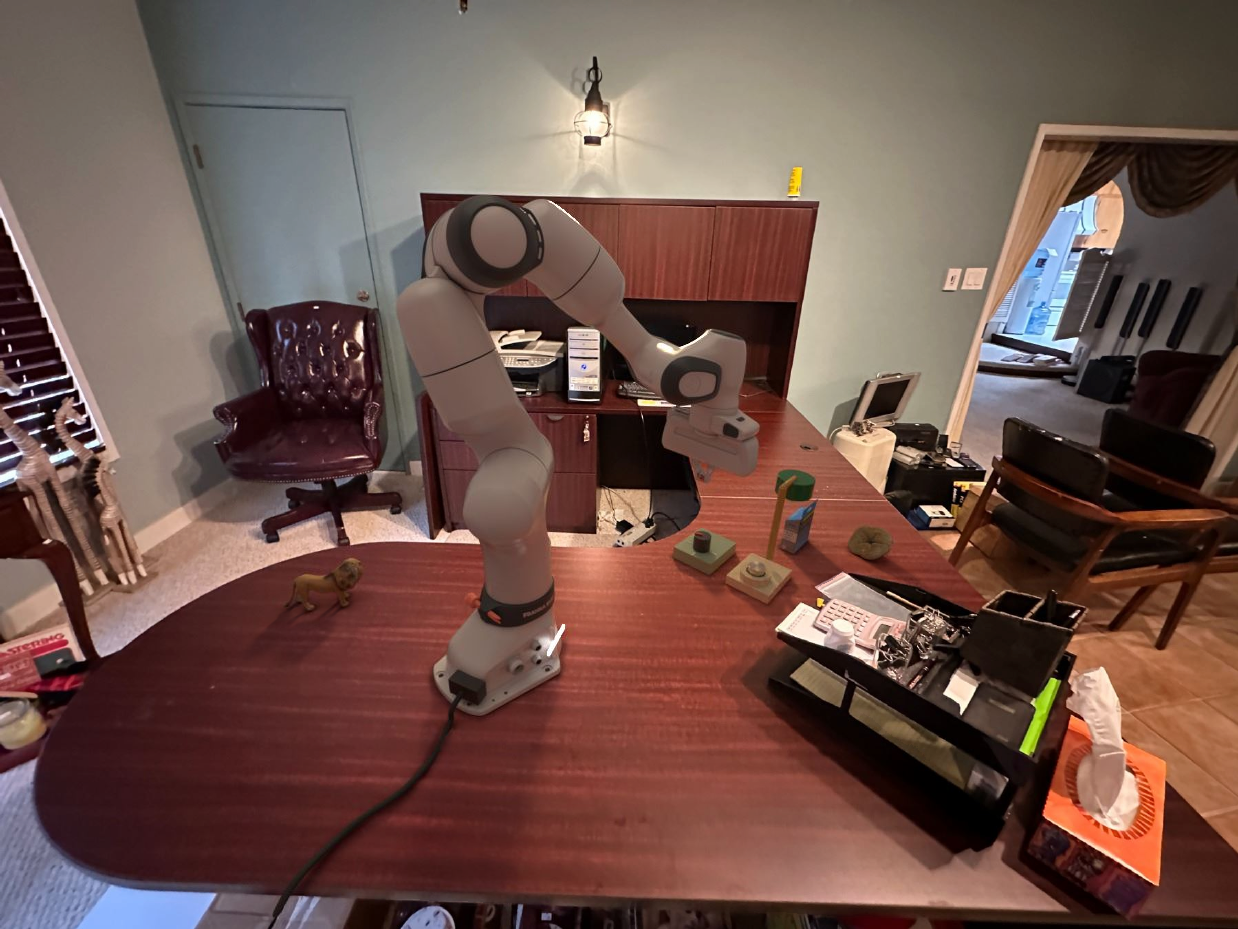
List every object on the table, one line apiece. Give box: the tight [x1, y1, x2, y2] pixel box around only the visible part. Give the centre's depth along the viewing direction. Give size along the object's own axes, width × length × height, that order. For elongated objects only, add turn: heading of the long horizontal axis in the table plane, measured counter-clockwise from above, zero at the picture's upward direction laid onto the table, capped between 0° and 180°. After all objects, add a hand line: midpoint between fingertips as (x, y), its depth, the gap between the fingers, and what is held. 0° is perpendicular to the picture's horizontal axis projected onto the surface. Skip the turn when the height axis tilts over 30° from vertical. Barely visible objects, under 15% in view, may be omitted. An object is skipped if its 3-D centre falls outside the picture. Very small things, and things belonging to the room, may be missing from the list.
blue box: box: [779, 498, 819, 555], centre depth 122 cm, size 9×4×12 cm, turn 139°
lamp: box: [764, 468, 816, 561], centre depth 111 cm, size 12×8×19 cm
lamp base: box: [724, 552, 793, 605], centre depth 109 cm, size 12×10×4 cm
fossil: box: [847, 524, 894, 560], centre depth 121 cm, size 9×4×10 cm
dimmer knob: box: [693, 530, 712, 553], centre depth 115 cm, size 4×4×4 cm
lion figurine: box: [283, 557, 364, 612], centre depth 96 cm, size 15×5×9 cm, turn 111°
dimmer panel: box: [672, 527, 737, 576], centre depth 117 cm, size 12×10×3 cm
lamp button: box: [747, 561, 765, 577], centre depth 106 cm, size 4×4×2 cm
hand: (702, 480), depth 101 cm, fingers closed
